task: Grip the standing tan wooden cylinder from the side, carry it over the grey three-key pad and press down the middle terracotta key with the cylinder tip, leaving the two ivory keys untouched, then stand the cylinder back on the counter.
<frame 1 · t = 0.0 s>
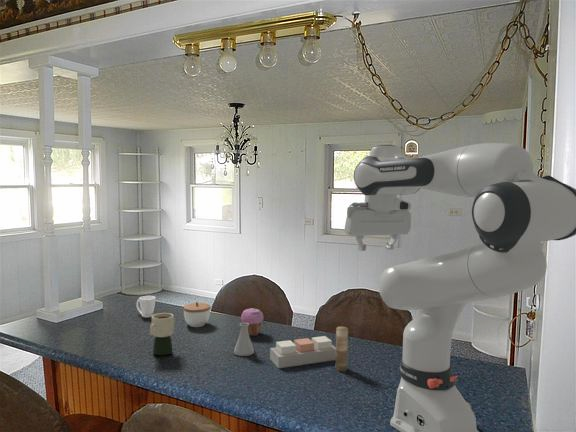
hand: (376, 249, 125), 39 cm above the countertop, tool pointing down, fingers open, 8 cm apart
keypad bezel: (303, 359, 143), on the countertop
terracotta key: (304, 345, 142), point 5 cm above the countertop, slide at 0.0 cm
ivory key 2: (321, 343, 145), point 5 cm above the countertop, slide at 0.0 cm
ivory key 1: (285, 347, 140), point 5 cm above the countertop, slide at 0.0 cm
tan wooden cylinder: (341, 369, 135), on the countertop
flask: (244, 353, 148), on the countertop
cupcake: (252, 334, 166), on the countertop
cup: (145, 315, 188), on the countertop
character mug: (162, 354, 145), on the countertop
lidded jar: (196, 325, 176), on the countertop
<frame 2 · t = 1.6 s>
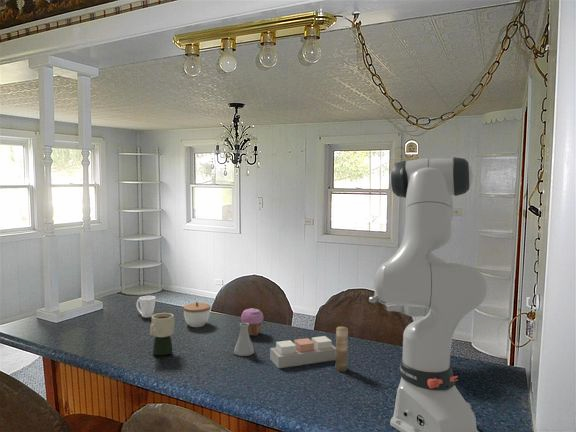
hand: (378, 304, 139), 20 cm above the countertop, tool horizontal, fingers open, 8 cm apart
nothing on the countertop moved.
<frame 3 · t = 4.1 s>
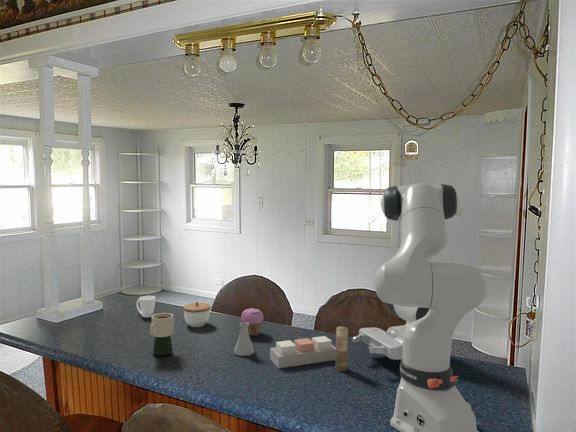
hand: (361, 344, 137), 7 cm above the countertop, tool horizontal, fingers open, 8 cm apart
nothing on the countertop moved.
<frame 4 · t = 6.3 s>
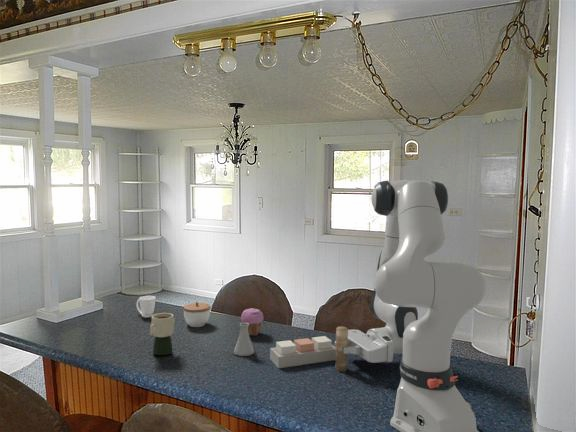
hand: (339, 347, 135), 7 cm above the countertop, tool horizontal, fingers closed on tan wooden cylinder, 4 cm apart
tan wooden cylinder: (341, 369, 135), on the countertop, touching gripper
everything else where it was.
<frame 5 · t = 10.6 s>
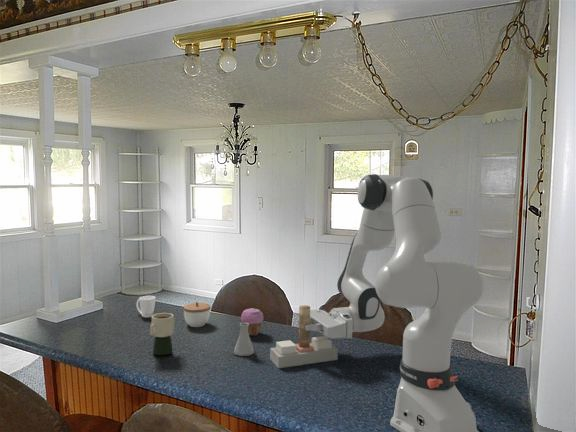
hand: (301, 325, 142), 12 cm above the countertop, tool horizontal, fingers closed on tan wooden cylinder, 4 cm apart
terracotta key: (303, 350, 142), point 3 cm above the countertop, slide at 1.5 cm, touching tan wooden cylinder
tan wooden cylinder: (304, 345, 142), point 4 cm above the countertop, touching gripper, terracotta key
everything else where it was.
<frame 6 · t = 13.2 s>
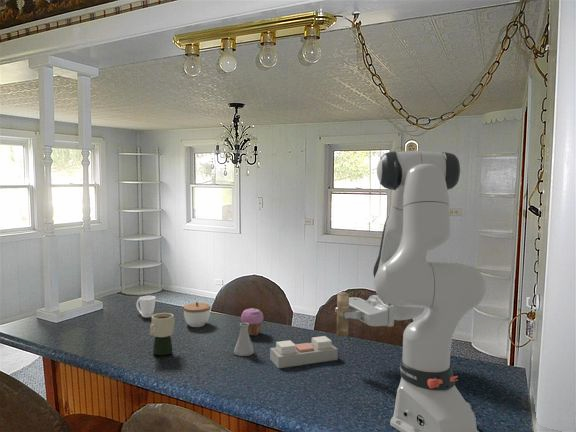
hand: (340, 312, 134), 18 cm above the countertop, tool horizontal, fingers closed on tan wooden cylinder, 4 cm apart
terracotta key: (303, 350, 142), point 3 cm above the countertop, slide at 1.6 cm
tan wooden cylinder: (342, 334, 135), point 11 cm above the countertop, touching gripper
everything else where it was.
when the fingers open (8 cm above the countertop, at t = 15.2 s): tan wooden cylinder stays where it is, on the countertop.
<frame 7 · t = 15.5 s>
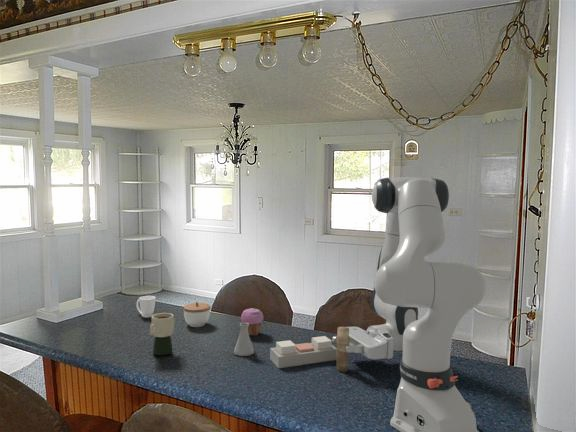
hand: (339, 344, 134), 8 cm above the countertop, tool horizontal, fingers open, 7 cm apart
tan wooden cylinder: (342, 369, 135), on the countertop
everything else where it was.
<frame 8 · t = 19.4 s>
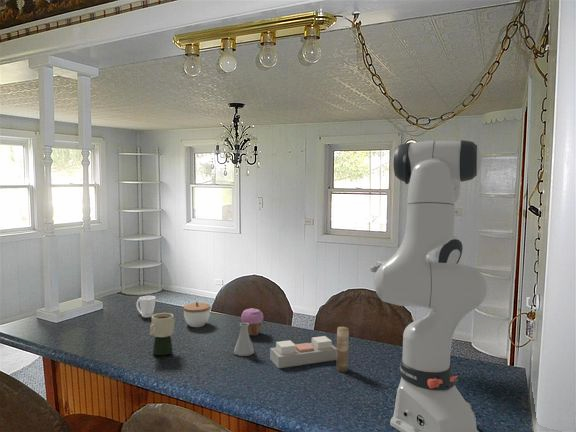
hand: (379, 272, 138), 30 cm above the countertop, tool horizontal, fingers open, 8 cm apart
nothing on the countertop moved.
at the end: terracotta key slide at 1.6 cm; ivory key 2 slide at 0.0 cm; ivory key 1 slide at 0.0 cm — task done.
